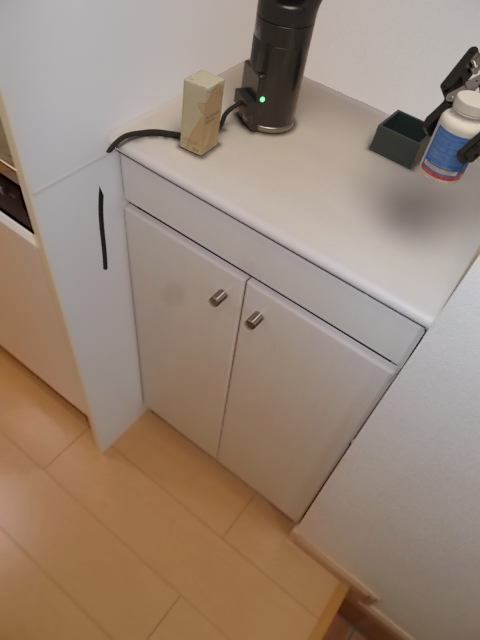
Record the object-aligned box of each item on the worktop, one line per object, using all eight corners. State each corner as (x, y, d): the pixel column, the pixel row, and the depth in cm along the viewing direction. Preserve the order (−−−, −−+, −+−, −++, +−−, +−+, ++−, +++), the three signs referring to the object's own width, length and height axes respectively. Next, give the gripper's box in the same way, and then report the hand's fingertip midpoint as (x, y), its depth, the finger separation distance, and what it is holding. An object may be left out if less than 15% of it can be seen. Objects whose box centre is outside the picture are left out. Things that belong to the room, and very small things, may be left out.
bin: (410, 168, 89) (420, 144, 86) (369, 149, 92) (378, 124, 88) (428, 151, 94) (439, 127, 91) (389, 132, 96) (398, 109, 93)
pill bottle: (463, 189, 64) (503, 115, 57) (420, 181, 64) (454, 106, 57) (457, 164, 68) (494, 91, 61) (416, 156, 68) (448, 83, 60)
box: (200, 157, 84) (206, 89, 75) (178, 146, 85) (181, 79, 76) (218, 143, 87) (226, 77, 78) (197, 133, 88) (202, 67, 80)
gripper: (515, -20, 58) (395, 97, 63) (624, 37, 51) (479, 164, 56) (522, 27, 64) (412, 130, 69) (619, 84, 57) (489, 195, 62)
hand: (442, 145), depth 62 cm, fingers closed on pill bottle, 5 cm apart
